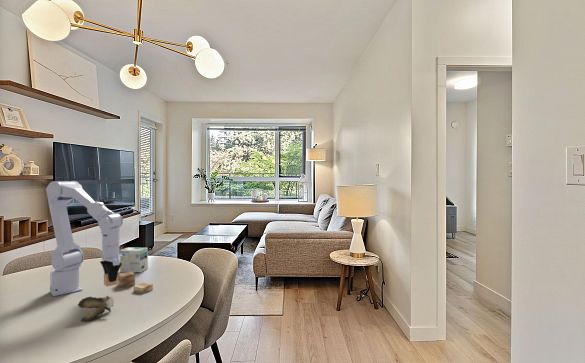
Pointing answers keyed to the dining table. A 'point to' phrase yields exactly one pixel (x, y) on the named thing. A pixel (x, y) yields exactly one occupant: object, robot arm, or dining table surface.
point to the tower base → (127, 283)
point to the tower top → (126, 276)
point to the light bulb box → (134, 259)
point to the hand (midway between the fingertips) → (110, 279)
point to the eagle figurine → (95, 306)
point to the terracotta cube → (106, 280)
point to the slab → (143, 287)
